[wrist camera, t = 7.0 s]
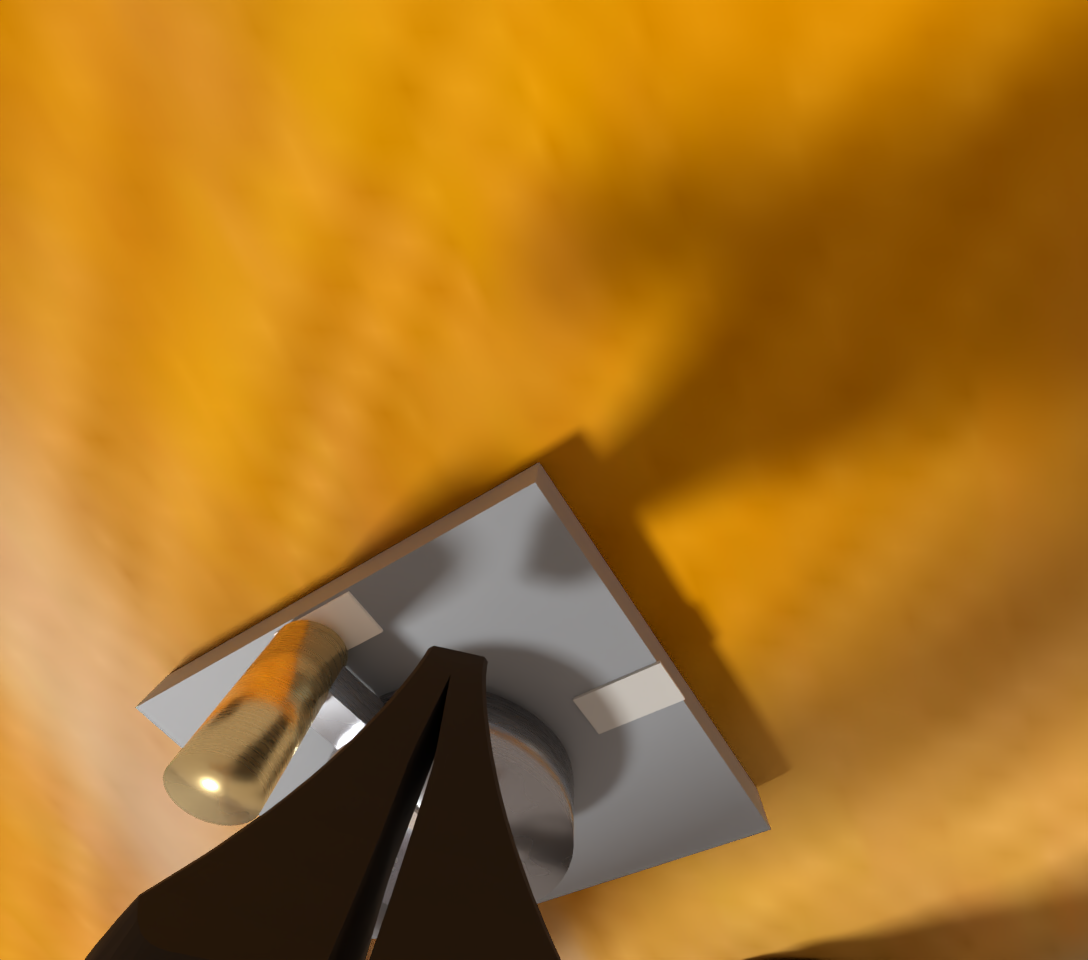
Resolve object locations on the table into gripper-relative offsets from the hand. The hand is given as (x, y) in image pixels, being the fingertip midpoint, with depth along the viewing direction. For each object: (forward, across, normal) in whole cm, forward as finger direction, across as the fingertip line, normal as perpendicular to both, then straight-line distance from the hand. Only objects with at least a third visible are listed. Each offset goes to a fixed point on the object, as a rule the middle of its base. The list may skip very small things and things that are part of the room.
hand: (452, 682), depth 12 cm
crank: (+3, +1, +6) cm, 6 cm away
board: (+4, 0, +7) cm, 8 cm away
